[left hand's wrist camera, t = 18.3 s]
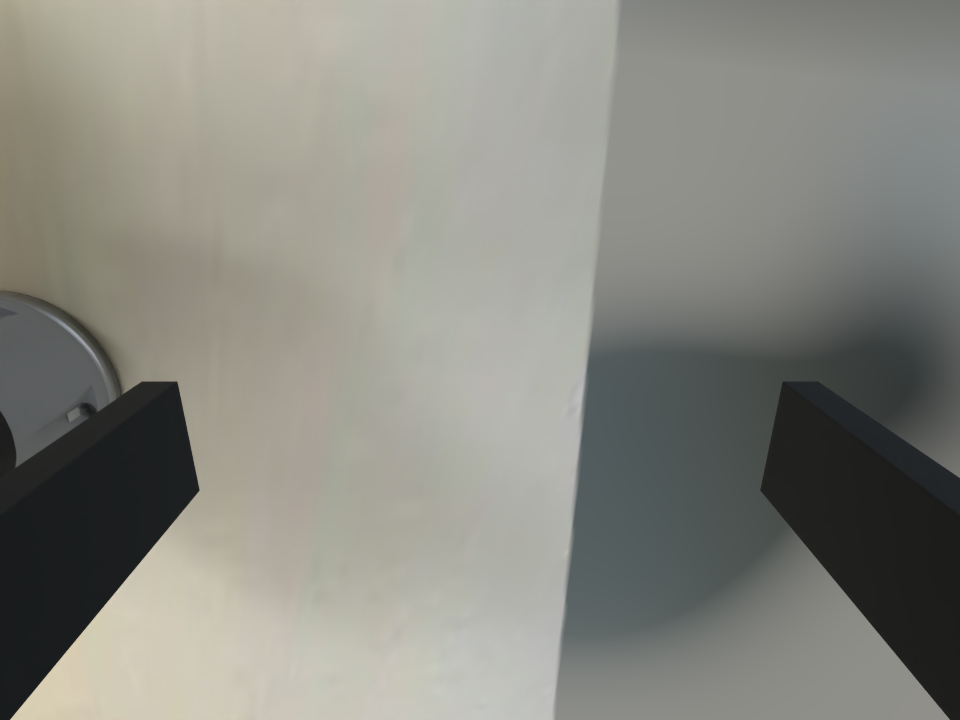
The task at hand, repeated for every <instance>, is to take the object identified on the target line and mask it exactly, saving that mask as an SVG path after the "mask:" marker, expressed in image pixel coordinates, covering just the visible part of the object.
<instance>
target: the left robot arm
mask: <svg viewBox="0 0 960 720" xmlns="http://www.w3.org/2000/svg"><path fill="white" fill-rule="evenodd" d="M199 491H200V490H199V485H198V480H197V475H196V470H195V466H194V461H193V456H192V451H191V446H190V441H189V436H188V431H187V427H186V422H185V417H184V412H183V407H182V402H181V397H180V392H179V387H178V383H177V382H141V383H139V384H138V385H136V386H135V387H133V388H132V389H130V390H129V391H127V392H126V393H125V394H123V395H122V396H121V391H120V386H119V382H118V379H117V376H116V373H115V371H114V368H113V366H112V364H111V362H110V360H109V359H108V357H107V355H106V354H105V352H104V351H103V349H102V348H101V346H100V345H99V344H98V342H97V341H96V340H95V339H94V338H93V337H92V336H91V334H90V333H89V332H88V331H87V330H86V329H85V328H83V327H82V326H81V325H80V324H79V323H78V322H76V321H75V320H74V319H73V318H71V317H70V316H68V315H67V314H66V313H64V312H63V311H61V310H59V309H57V308H56V307H54V306H52V305H50V304H48V303H46V302H44V301H41V300H39V299H36V298H34V297H30V296H27V295H24V294H19V293H15V292H8V291H0V720H10V719H11V718H12V717H13V715H14V714H15V713H16V712H17V711H18V709H19V708H20V707H21V706H22V705H23V703H24V702H25V701H26V700H27V698H28V697H29V696H30V695H31V694H32V692H33V691H34V690H35V689H36V688H37V686H38V685H39V684H40V683H41V682H42V680H43V679H44V678H45V677H46V675H47V674H48V673H49V672H50V671H51V669H52V668H53V667H54V666H55V665H56V663H57V662H58V661H59V660H60V659H61V657H62V656H63V655H64V654H65V653H66V651H67V650H68V649H69V648H70V646H71V645H72V644H73V643H74V642H75V640H76V639H77V638H78V637H79V636H80V634H81V633H82V632H83V631H84V630H85V628H86V627H87V626H88V625H89V624H90V622H91V621H92V620H93V619H94V617H95V616H96V615H97V614H98V613H99V611H100V610H101V609H102V608H103V607H104V605H105V604H106V603H107V602H108V601H109V599H110V598H111V597H112V596H113V594H114V593H115V592H116V591H117V590H118V588H119V587H120V586H121V585H122V584H123V582H124V581H125V580H126V579H127V578H128V576H129V575H130V574H131V573H132V572H133V570H134V569H135V568H136V567H137V565H138V564H139V563H140V562H141V561H142V559H143V558H144V557H145V556H146V555H147V553H148V552H149V551H150V550H151V549H152V547H153V546H154V545H155V544H156V542H157V541H158V540H159V539H160V538H161V536H162V535H163V534H164V533H165V532H166V530H167V529H168V528H169V527H170V526H171V524H172V523H173V522H174V521H175V520H176V518H177V517H178V516H179V515H180V513H181V512H182V511H183V510H184V509H185V507H186V506H187V505H188V504H189V503H190V501H191V500H192V499H193V498H194V497H195V495H196V494H197V493H198V492H199ZM761 492H762V493H763V494H764V495H765V497H766V498H767V499H768V500H769V501H770V503H771V504H772V505H773V506H774V507H775V509H776V510H777V511H778V512H779V513H780V515H781V516H782V517H783V518H784V520H785V521H786V522H787V523H788V524H789V526H790V527H791V528H792V529H793V530H794V532H795V533H796V534H797V535H798V536H799V538H800V539H801V540H802V541H803V542H804V544H805V545H806V546H807V547H808V549H809V550H810V551H811V552H812V553H813V555H814V556H815V557H816V558H817V559H818V561H819V562H820V563H821V564H822V565H823V567H824V568H825V569H826V570H827V572H828V573H829V574H830V575H831V576H832V578H833V579H834V580H835V581H836V582H837V584H838V585H839V586H840V587H841V588H842V590H843V591H844V592H845V593H846V594H847V596H848V597H849V598H850V599H851V601H852V602H853V603H854V604H855V605H856V607H857V608H858V609H859V610H860V611H861V613H862V614H863V615H864V616H865V617H866V619H867V620H868V621H869V622H870V623H871V625H872V626H873V627H874V628H875V630H876V631H877V632H878V633H879V634H880V636H881V637H882V638H883V639H884V640H885V642H886V643H887V644H888V645H889V646H890V648H891V649H892V650H893V651H894V652H895V654H896V655H897V656H898V657H899V659H900V660H901V661H902V662H903V663H904V665H905V666H906V667H907V668H908V669H909V671H910V672H911V673H912V674H913V675H914V677H915V678H916V679H917V680H918V681H919V683H920V684H921V685H922V686H923V688H924V689H925V690H926V691H927V692H928V694H929V695H930V696H931V697H932V698H933V700H934V701H935V702H936V703H937V705H938V706H939V707H940V708H941V709H942V711H943V712H944V713H945V714H946V715H947V717H948V718H949V719H950V720H960V478H959V477H957V476H956V475H954V474H953V473H951V472H950V471H949V470H947V469H946V468H944V467H943V466H941V465H940V464H938V463H937V462H935V461H934V460H932V459H931V458H929V457H928V456H926V455H925V454H924V453H922V452H921V451H919V450H918V449H916V448H915V447H913V446H912V445H910V444H909V443H907V442H906V441H904V440H903V439H901V438H900V437H899V436H897V435H896V434H894V433H893V432H891V431H890V430H888V429H887V428H885V427H884V426H882V425H881V424H879V423H878V422H877V421H875V420H874V419H872V418H871V417H869V416H868V415H866V414H865V413H863V412H862V411H860V410H859V409H857V408H856V407H855V406H853V405H852V404H850V403H849V402H847V401H846V400H844V399H843V398H841V397H840V396H838V395H837V394H835V393H834V392H832V391H831V390H830V389H828V388H827V387H825V386H824V385H822V384H821V383H819V382H783V383H782V387H781V392H780V397H779V402H778V407H777V412H776V417H775V422H774V427H773V432H772V436H771V441H770V446H769V451H768V456H767V461H766V466H765V470H764V476H763V480H762V485H761Z"/></svg>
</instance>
